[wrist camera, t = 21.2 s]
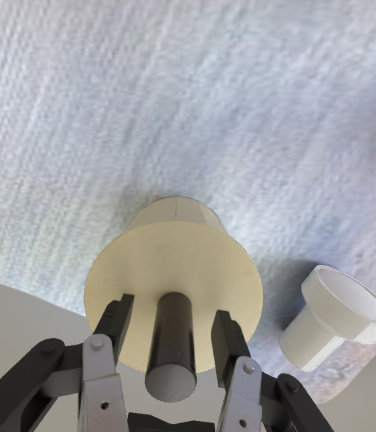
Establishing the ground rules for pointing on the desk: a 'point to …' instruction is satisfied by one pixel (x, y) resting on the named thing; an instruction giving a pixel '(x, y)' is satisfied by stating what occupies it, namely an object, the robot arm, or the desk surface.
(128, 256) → the cream disc with rod
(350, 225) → the desk surface
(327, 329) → the spotlight
